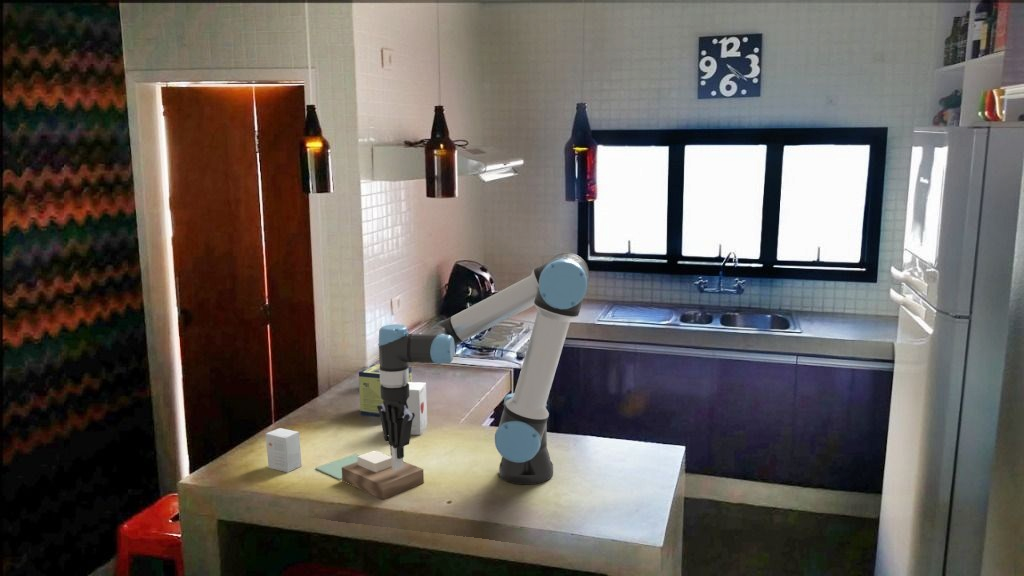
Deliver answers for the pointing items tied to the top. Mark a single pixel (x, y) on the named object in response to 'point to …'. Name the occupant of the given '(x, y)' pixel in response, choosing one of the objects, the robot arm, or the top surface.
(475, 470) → the top surface
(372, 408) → the protein box
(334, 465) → the mat
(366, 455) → the tile
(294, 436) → the small box
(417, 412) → the supplement box
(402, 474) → the plate
